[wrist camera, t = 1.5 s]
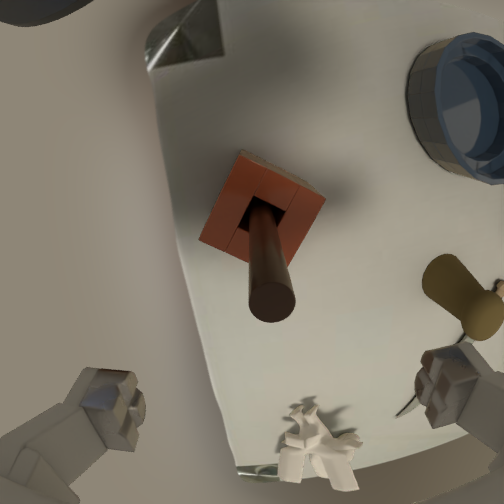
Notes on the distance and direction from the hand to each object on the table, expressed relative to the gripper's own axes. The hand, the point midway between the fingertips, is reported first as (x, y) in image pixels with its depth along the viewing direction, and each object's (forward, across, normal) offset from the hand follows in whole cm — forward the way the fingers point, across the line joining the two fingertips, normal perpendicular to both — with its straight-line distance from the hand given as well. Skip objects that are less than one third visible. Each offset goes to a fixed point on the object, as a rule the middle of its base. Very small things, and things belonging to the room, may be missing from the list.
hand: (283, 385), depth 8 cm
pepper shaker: (+25, -22, +10) cm, 34 cm away
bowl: (+24, -23, -10) cm, 35 cm away
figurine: (+25, -7, +34) cm, 43 cm away
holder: (+24, 0, 0) cm, 24 cm away
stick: (+24, 0, 0) cm, 24 cm away
